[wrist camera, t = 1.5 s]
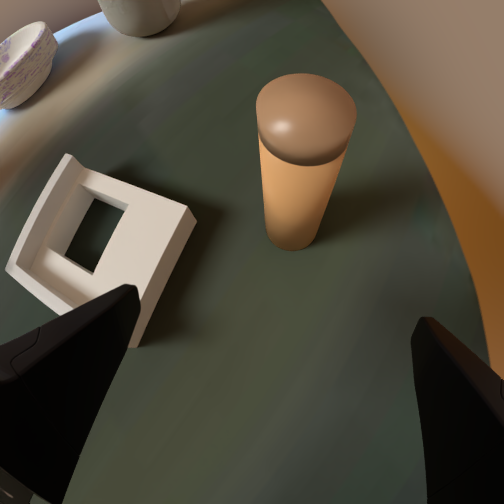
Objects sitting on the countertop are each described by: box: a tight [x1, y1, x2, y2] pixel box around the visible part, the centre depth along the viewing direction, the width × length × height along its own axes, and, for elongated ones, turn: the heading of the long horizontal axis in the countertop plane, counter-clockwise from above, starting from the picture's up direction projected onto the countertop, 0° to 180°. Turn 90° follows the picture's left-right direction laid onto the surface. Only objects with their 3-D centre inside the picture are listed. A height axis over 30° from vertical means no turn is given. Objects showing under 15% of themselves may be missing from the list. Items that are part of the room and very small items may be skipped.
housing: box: [5, 154, 197, 348], centre depth 22 cm, size 12×11×5 cm
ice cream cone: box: [256, 74, 357, 251], centre depth 18 cm, size 4×4×14 cm
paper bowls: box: [0, 22, 58, 110], centre depth 30 cm, size 15×15×8 cm
